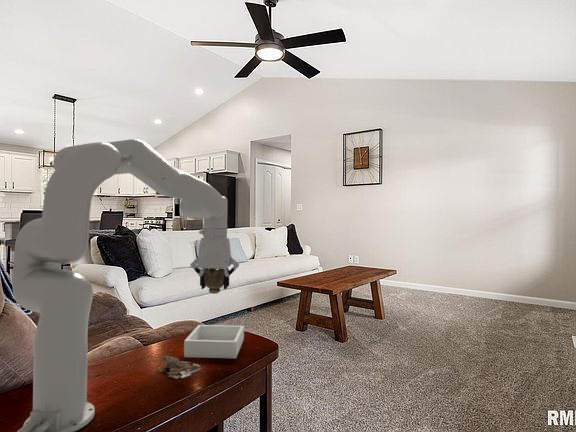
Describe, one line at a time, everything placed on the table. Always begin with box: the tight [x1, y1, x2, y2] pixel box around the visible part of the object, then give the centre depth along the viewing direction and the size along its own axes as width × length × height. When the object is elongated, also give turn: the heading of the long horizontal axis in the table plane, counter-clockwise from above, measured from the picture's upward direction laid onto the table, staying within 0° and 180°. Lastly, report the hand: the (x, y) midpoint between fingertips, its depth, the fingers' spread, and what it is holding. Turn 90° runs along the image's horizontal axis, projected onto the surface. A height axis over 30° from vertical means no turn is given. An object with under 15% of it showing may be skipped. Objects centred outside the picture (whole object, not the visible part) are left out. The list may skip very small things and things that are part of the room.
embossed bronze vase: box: [204, 269, 225, 295], centre depth 117 cm, size 8×7×8 cm
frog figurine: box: [158, 353, 202, 379], centre depth 100 cm, size 12×12×4 cm
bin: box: [183, 324, 245, 359], centre depth 117 cm, size 16×16×5 cm
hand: (214, 287), depth 117 cm, fingers closed on embossed bronze vase, 6 cm apart
